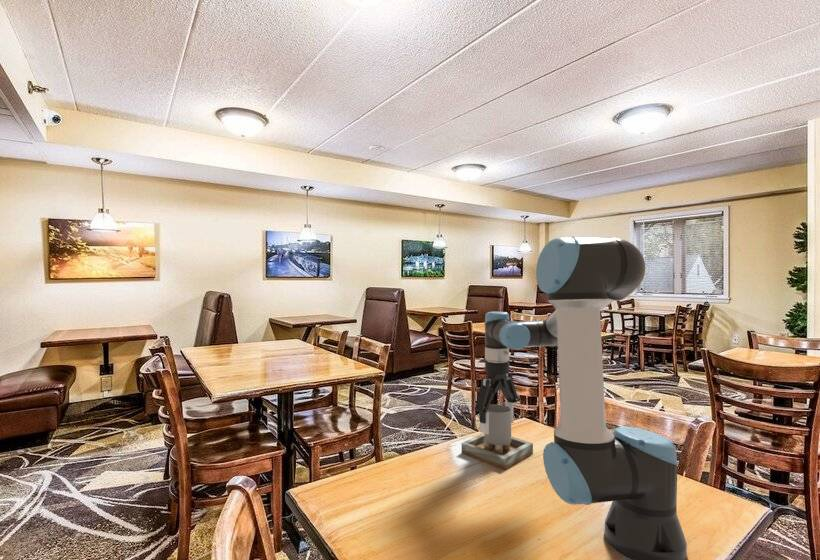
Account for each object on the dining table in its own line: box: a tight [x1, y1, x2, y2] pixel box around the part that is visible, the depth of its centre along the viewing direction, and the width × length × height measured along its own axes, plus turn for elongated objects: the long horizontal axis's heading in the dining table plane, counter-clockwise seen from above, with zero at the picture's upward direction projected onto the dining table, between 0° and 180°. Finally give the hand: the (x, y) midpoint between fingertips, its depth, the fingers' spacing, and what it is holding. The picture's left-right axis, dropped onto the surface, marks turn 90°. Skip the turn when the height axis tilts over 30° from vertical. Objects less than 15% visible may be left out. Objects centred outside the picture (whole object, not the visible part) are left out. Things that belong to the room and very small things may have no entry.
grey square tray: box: [461, 433, 534, 471], centre depth 132 cm, size 16×16×4 cm
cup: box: [484, 404, 512, 445], centre depth 133 cm, size 8×8×10 cm
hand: (497, 427), depth 132 cm, fingers open, 13 cm apart
